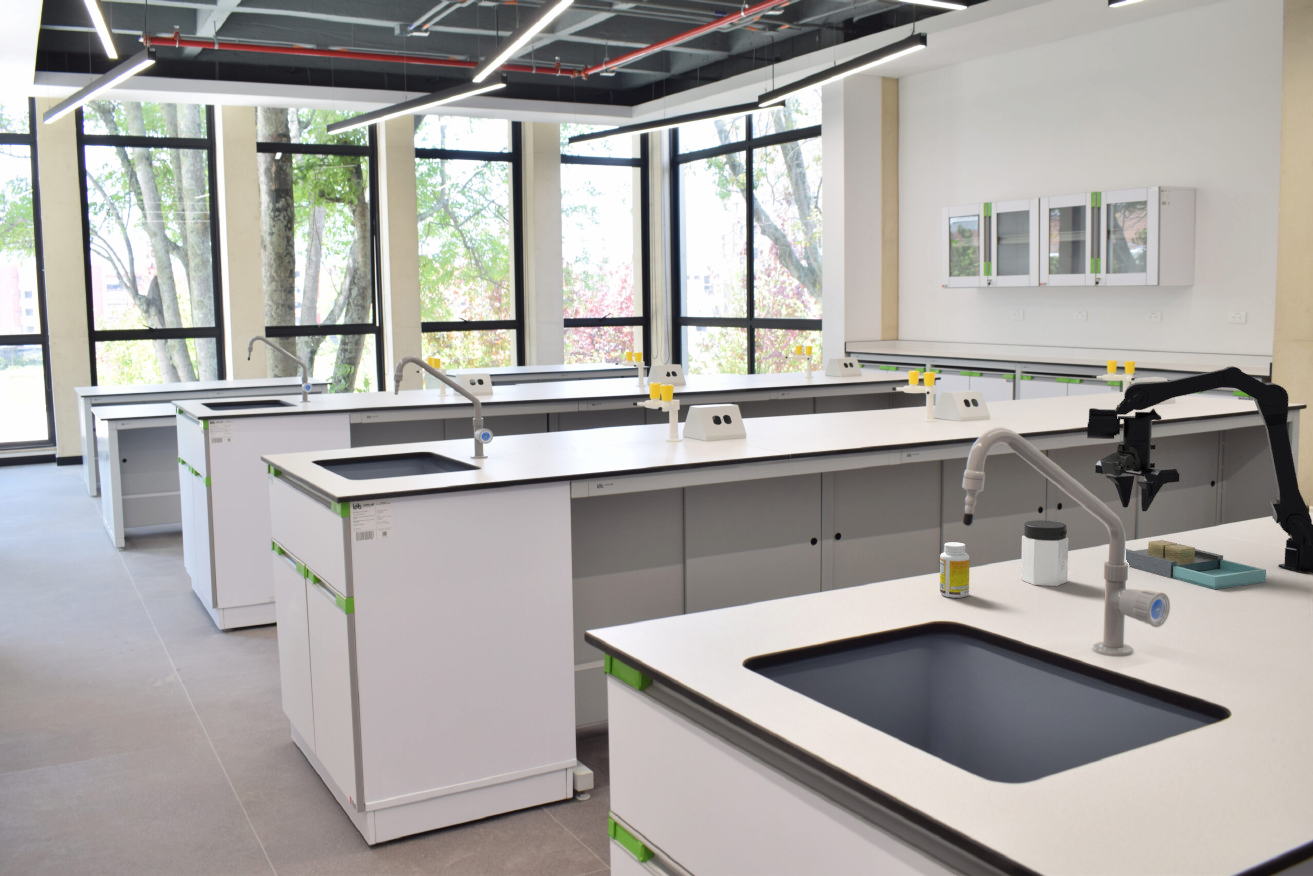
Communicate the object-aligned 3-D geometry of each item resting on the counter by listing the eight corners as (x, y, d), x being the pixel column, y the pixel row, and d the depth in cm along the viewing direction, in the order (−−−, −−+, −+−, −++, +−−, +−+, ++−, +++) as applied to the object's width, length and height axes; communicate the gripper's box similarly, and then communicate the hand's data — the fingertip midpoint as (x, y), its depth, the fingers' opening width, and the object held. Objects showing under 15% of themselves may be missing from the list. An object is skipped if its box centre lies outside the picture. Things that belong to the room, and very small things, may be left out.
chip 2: (1178, 555, 225) (1179, 544, 224) (1194, 559, 221) (1195, 547, 221) (1164, 557, 223) (1165, 545, 223) (1180, 561, 219) (1180, 549, 219)
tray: (1222, 571, 220) (1223, 559, 220) (1265, 581, 211) (1266, 569, 211) (1172, 578, 215) (1173, 566, 215) (1214, 589, 206) (1214, 577, 206)
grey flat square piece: (1168, 557, 234) (1169, 542, 233) (1222, 570, 221) (1223, 555, 220) (1118, 563, 228) (1118, 549, 228) (1170, 578, 215) (1171, 562, 215)
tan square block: (1162, 551, 229) (1162, 540, 228) (1177, 555, 225) (1177, 543, 225) (1148, 553, 227) (1148, 541, 227) (1162, 556, 224) (1163, 545, 223)
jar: (1053, 588, 209) (1054, 530, 208) (1015, 582, 215) (1016, 524, 214) (1073, 580, 215) (1074, 523, 214) (1035, 574, 221) (1036, 518, 220)
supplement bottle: (974, 595, 206) (975, 544, 204) (958, 600, 202) (958, 548, 201) (950, 589, 210) (951, 539, 209) (933, 594, 206) (934, 544, 205)
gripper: (1077, 437, 237) (1075, 505, 238) (1142, 446, 219) (1140, 519, 221) (1115, 434, 241) (1113, 501, 242) (1182, 443, 223) (1179, 515, 225)
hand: (1134, 509), depth 233 cm, fingers open, 5 cm apart
